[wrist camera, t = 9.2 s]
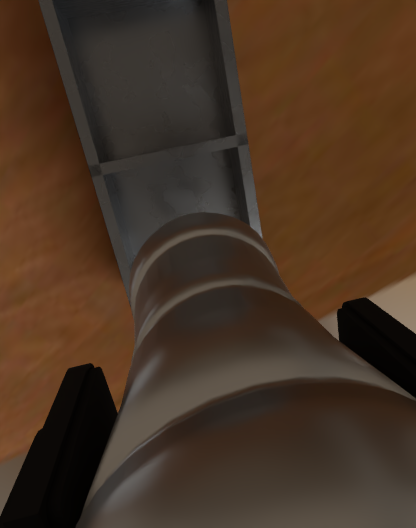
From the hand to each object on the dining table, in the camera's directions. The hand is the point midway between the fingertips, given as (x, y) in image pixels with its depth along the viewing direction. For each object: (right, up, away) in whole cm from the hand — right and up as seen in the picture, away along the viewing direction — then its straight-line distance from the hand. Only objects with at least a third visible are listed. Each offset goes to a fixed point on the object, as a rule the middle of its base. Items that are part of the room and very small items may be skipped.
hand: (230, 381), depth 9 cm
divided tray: (-4, +13, +21) cm, 25 cm away
